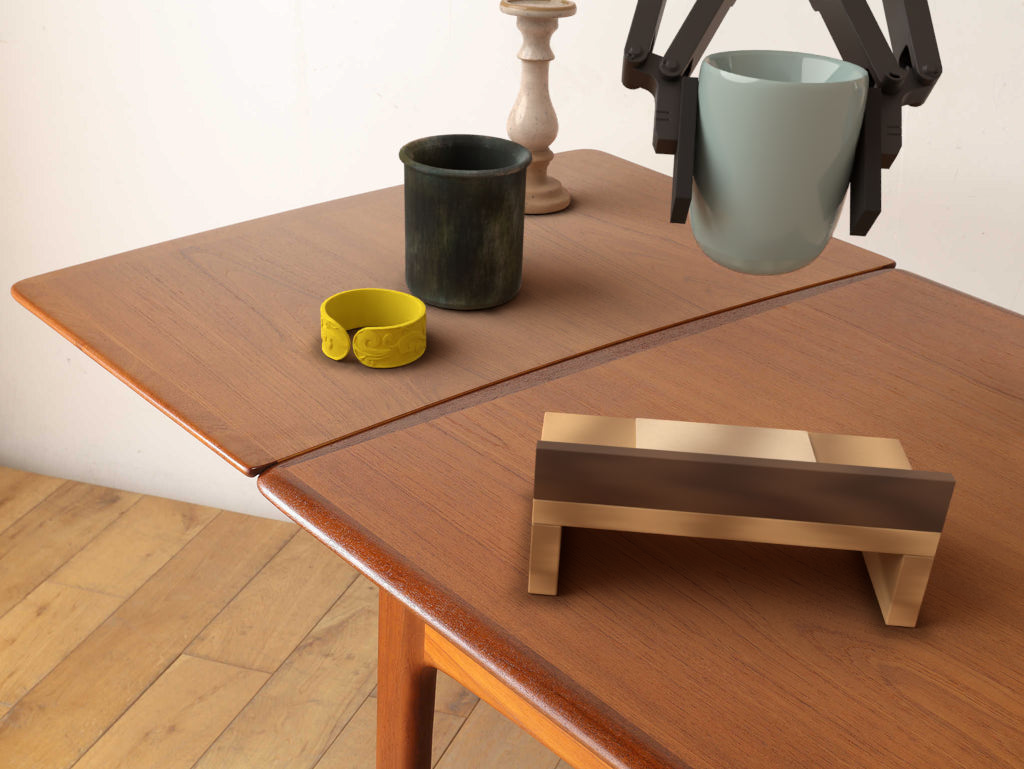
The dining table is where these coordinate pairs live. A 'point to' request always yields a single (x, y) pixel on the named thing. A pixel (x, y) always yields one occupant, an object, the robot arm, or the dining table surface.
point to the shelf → (741, 494)
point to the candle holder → (537, 99)
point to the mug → (464, 219)
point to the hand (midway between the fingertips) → (772, 217)
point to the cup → (773, 156)
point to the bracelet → (374, 345)
